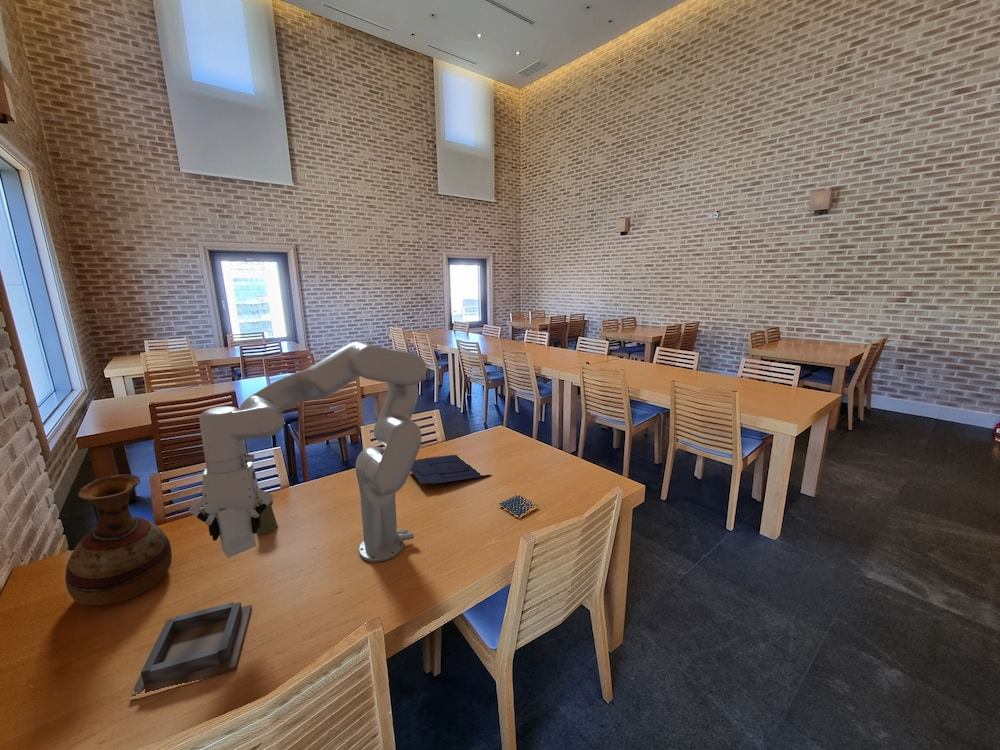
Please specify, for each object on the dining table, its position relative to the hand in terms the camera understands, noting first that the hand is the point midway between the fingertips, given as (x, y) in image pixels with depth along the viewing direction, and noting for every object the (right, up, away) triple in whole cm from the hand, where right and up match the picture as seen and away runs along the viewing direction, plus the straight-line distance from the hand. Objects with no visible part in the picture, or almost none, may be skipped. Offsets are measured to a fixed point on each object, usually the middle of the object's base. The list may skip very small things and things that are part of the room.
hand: (236, 533), depth 92 cm
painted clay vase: (-36, -18, +11) cm, 42 cm away
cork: (-13, -13, +35) cm, 40 cm away
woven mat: (+68, -11, +48) cm, 84 cm away
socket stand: (-4, -22, -6) cm, 24 cm away
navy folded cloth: (+39, -4, +74) cm, 83 cm away
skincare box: (0, -4, +1) cm, 5 cm away
